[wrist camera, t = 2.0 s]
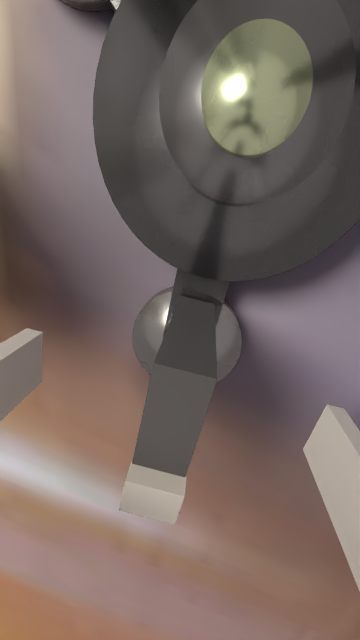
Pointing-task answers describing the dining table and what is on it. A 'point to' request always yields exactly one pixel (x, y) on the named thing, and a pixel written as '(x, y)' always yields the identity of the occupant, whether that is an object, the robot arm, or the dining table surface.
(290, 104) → the tribrach
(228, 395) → the dining table surface
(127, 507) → the dark grey angled finger
